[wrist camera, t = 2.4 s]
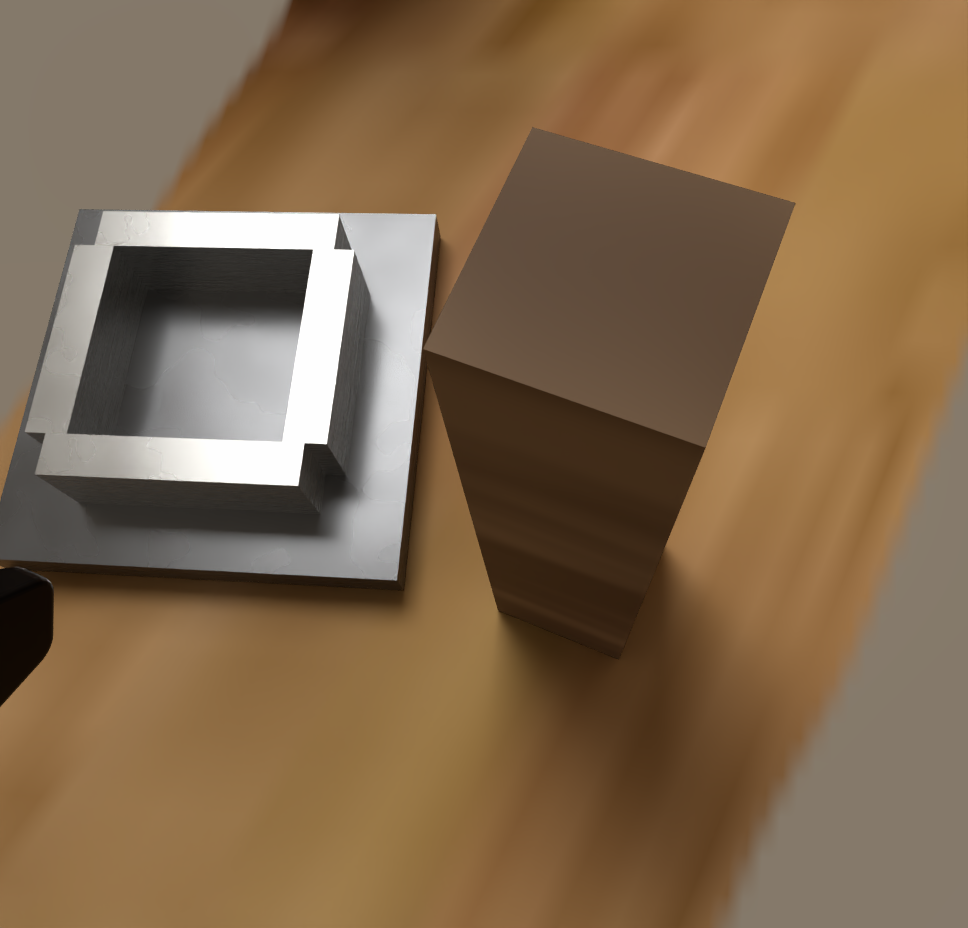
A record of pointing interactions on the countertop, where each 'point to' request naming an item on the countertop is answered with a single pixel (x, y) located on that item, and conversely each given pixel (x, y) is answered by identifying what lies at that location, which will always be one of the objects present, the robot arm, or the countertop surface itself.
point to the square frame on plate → (228, 399)
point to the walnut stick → (593, 370)
